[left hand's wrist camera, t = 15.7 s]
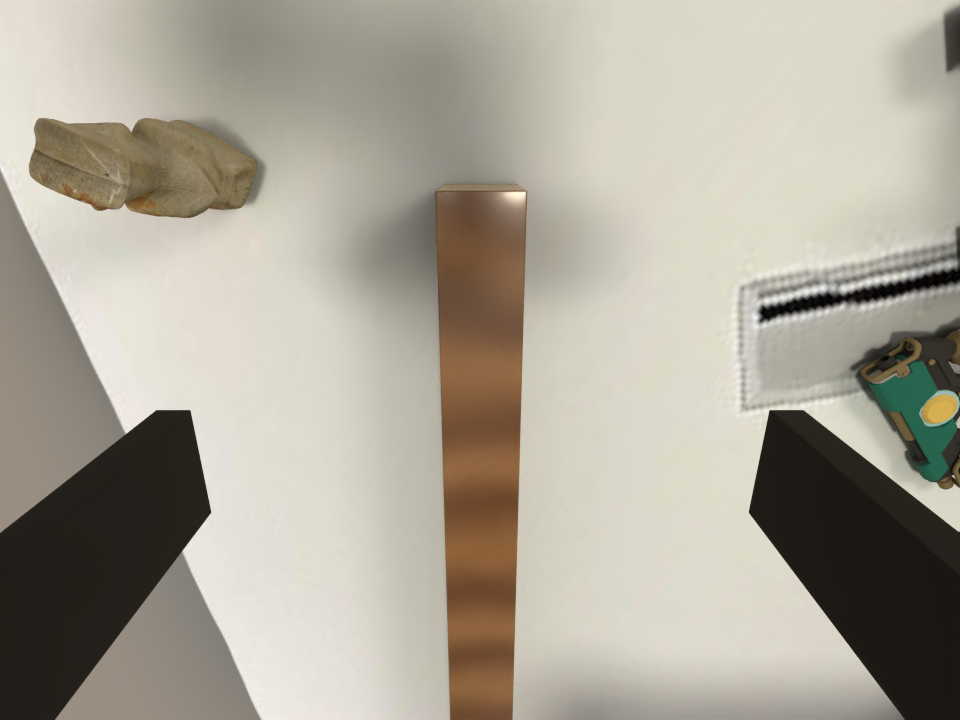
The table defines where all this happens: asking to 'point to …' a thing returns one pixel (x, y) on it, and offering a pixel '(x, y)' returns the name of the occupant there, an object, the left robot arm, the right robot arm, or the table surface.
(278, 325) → the table surface
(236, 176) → the sculpture
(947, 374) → the spray gun
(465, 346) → the post
